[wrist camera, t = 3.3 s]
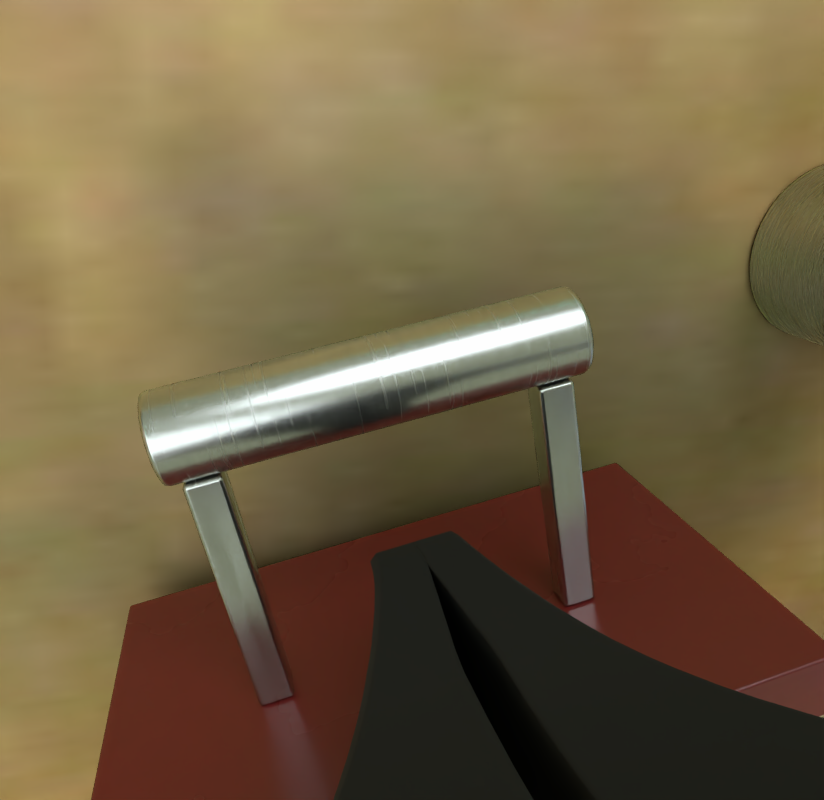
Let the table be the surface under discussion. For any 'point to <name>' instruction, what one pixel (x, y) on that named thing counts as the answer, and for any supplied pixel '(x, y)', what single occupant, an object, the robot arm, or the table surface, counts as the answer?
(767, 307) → the tin
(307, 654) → the drawer
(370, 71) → the table surface
